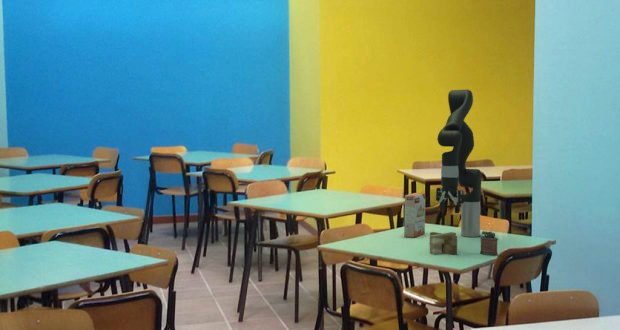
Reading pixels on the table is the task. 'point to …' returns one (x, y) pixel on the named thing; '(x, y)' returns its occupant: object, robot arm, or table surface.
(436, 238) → the beech plate
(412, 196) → the cracker box
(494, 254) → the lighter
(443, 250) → the notched brown block
